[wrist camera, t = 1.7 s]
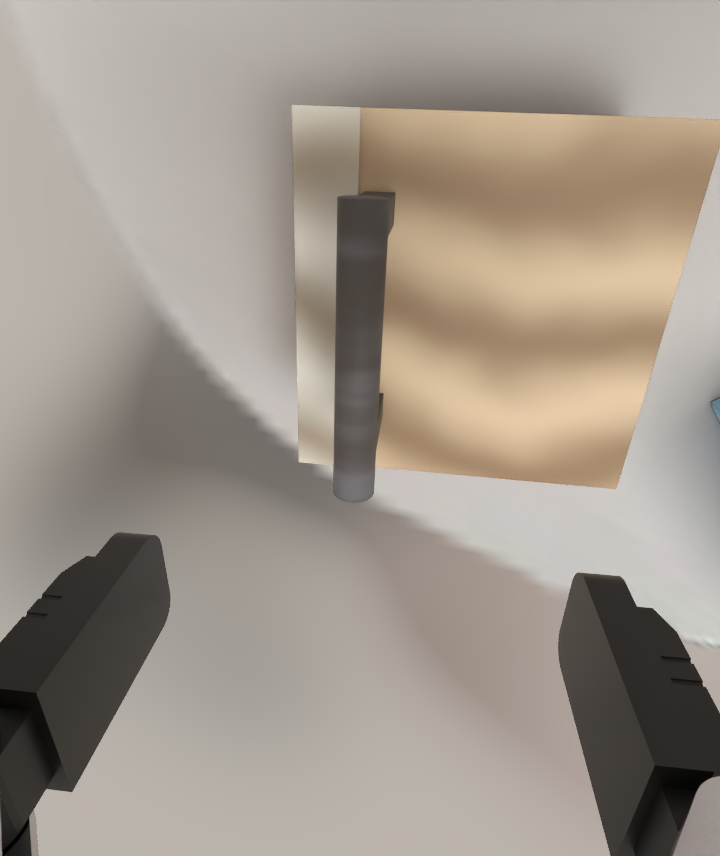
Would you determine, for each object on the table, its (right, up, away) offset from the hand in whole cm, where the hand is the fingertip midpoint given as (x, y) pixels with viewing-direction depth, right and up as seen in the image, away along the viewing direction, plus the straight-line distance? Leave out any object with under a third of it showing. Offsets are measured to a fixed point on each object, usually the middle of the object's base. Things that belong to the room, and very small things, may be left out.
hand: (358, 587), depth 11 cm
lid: (+6, +9, +17) cm, 20 cm away
